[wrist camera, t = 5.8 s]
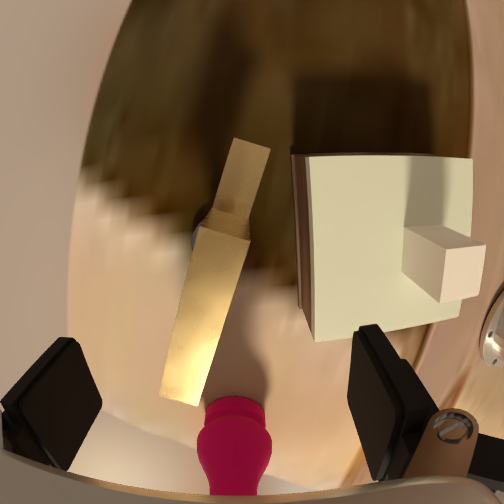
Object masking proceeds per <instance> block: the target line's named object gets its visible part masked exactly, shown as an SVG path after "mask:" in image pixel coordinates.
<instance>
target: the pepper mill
mask: <svg viewBox="0 0 504 504" xmlns="http://www.w3.org/2000/svg"><path fill="white" fill-rule="evenodd" d="M204 426H205V427H204V428H203V429H202V430H201V431H200V433H199V435H198V438H197V453H198V457H199V461H200V463H201V465H202V467H203V470H204V472H205V473H206V476H207V478H208V481H209V486H210V495H222V496H257V487H258V483H259V481H260V479H261V477H262V475H263V473H264V471H265V469H266V467H267V465H268V463H269V460H270V457H271V453H272V440H271V437H270V435H269V433H268V432H267V430H266V429H265V426H266V425H265V414H264V411H263V409H262V408H261V407H260V405H259V404H257V403H256V402H254V401H252V400H250V399H247V398H244V397H236V396H234V397H225V398H221V399H218V400H216V401H215V402H213V403H212V404H211V405H210V406H209V407H208V408H207V410H206V415H205V422H204Z"/></svg>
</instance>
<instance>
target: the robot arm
mask: <svg viewBox="0 0 504 504" xmlns="http://www.w3.org/2000/svg"><path fill="white" fill-rule="evenodd" d="M480 354H481V357H482V359H483V360H484V361H485V362H486V363H487V364H488V365H489V366H491V367H501V366H504V290H503V292H502V293H501V294H500V296H499V297H498V298H497V300H496V302H495V303H494V305H493V306H492V308H491V310H490V312H489V314H488V316H487V319H486V321H485V324H484V326H483V330H482V333H481V338H480ZM347 400H348V405H349V408H350V411H351V414H352V417H353V420H354V423H355V426H356V429H357V432H358V435H359V439H360V442H361V445H362V448H363V451H364V454H365V458H366V461H367V464H368V467H369V471H370V474H371V477H372V479H373V480H374V481H376V480H378V481H379V482H376V483H370V484H363V485H357V486H350V487H344V488H338V489H331V490H323V491H314V492H305V493H292V494H280V495H257V496H222V495H199V494H186V493H175V492H166V491H158V490H151V489H144V488H138V487H132V486H126V485H121V484H116V483H111V482H106V481H102V480H97V479H93V478H89V477H85V476H82V475H77V474H74V473H71V472H67V470H68V469H69V467H70V466H71V464H72V461H73V460H74V458H75V456H76V454H77V452H78V450H79V448H80V446H81V445H82V443H83V441H84V439H85V437H86V435H87V433H88V431H89V430H90V428H91V426H92V424H93V422H94V420H95V418H96V417H97V415H98V413H99V411H100V410H101V407H102V398H101V396H100V394H99V391H98V389H97V387H96V384H95V382H94V380H93V377H92V375H91V372H90V370H89V367H88V365H87V362H86V360H85V357H84V354H83V352H82V349H81V346H80V344H79V343H78V342H76V340H75V339H74V338H69V337H59V338H58V339H57V340H56V341H55V342H54V343H53V344H52V345H51V346H50V347H49V348H48V349H47V350H46V351H45V352H44V353H43V354H42V355H41V356H40V358H39V359H38V360H37V361H36V362H35V363H34V364H33V365H32V366H31V367H30V368H29V369H28V371H27V372H26V373H25V374H24V375H23V376H22V377H21V378H20V379H19V381H17V383H16V384H15V385H14V386H13V387H12V388H11V389H10V391H9V392H8V393H7V394H6V395H5V396H4V397H3V398H2V400H1V401H0V403H1V404H2V406H3V408H4V409H5V411H4V412H3V413H2V411H1V410H0V504H504V440H503V439H499V438H495V437H491V436H488V435H484V434H480V433H479V426H478V423H477V420H476V419H475V418H474V417H473V416H472V415H471V414H470V413H468V412H467V411H464V410H461V409H455V408H449V409H443V410H441V411H439V409H438V407H437V406H436V404H435V403H434V401H433V399H432V398H431V396H430V395H429V393H428V392H427V390H426V388H425V387H424V385H423V384H422V382H421V381H420V379H419V378H418V376H417V374H416V373H415V371H414V370H413V368H412V367H411V365H410V364H409V362H408V361H407V360H406V359H400V357H399V356H398V354H397V352H396V351H395V349H394V348H393V346H392V345H391V343H390V342H389V340H388V339H387V337H386V336H385V334H384V333H383V331H382V330H381V328H380V327H379V325H378V324H370V325H363V326H360V327H359V329H358V331H354V332H353V340H352V353H351V364H350V374H349V383H348V392H347Z"/></svg>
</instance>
